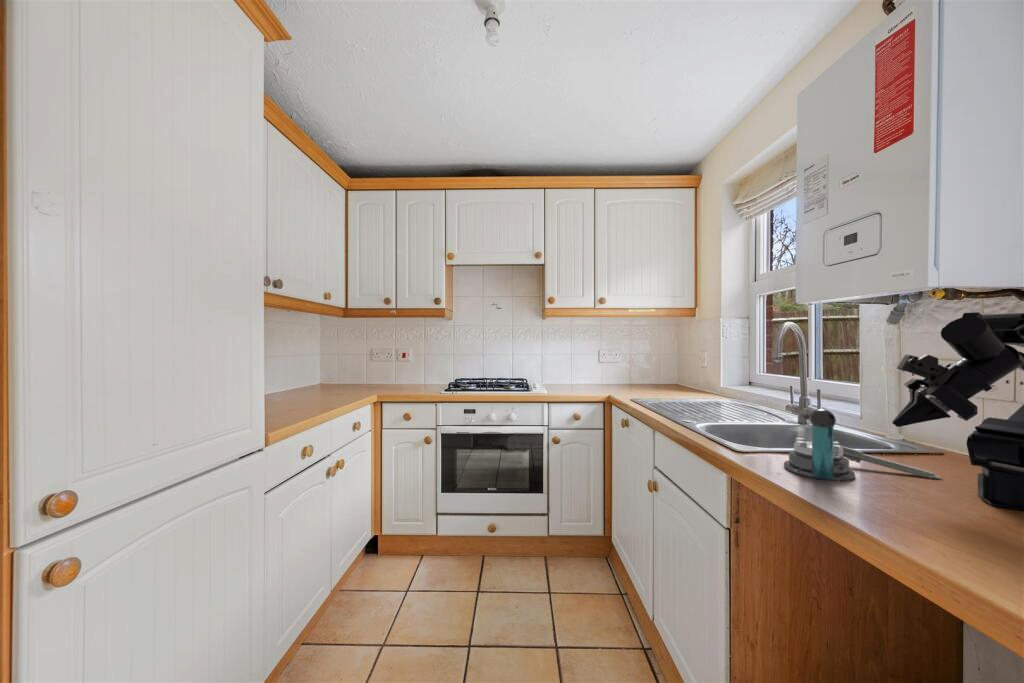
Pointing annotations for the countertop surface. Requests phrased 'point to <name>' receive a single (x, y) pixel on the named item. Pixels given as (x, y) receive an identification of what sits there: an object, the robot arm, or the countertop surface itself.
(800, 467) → the cap housing
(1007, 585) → the countertop surface
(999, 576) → the countertop surface
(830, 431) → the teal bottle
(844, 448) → the caliper
